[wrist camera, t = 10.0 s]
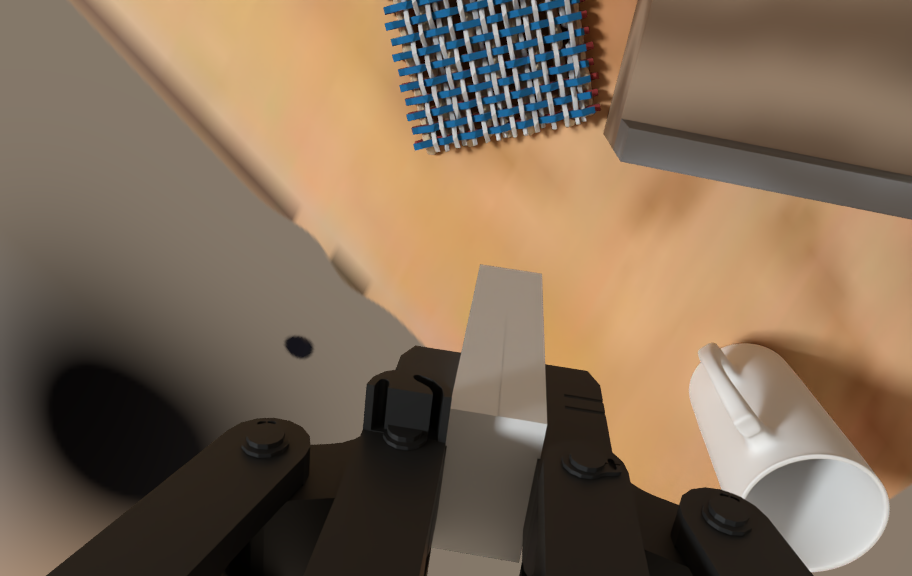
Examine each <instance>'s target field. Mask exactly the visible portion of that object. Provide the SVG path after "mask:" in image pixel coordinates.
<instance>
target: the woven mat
mask: <svg viewBox="0 0 912 576" xmlns="http://www.w3.org/2000/svg"><path fill="white" fill-rule="evenodd" d="M543 1H544V3H542V4H538V5H537V2H536V0H520V4H521V9H519V4H518V0H477V2H476V1H475V0H457V5H458V6H456V7H451V8H450V5H449V0H410V1H407V0H393V5H390V6H387V7H384V12H385V15H387V14H391V13H396V17H397V21H393V22H389V23H385V27H386V31H388V30H392V29H397V28H399V31H400V35H401V37H397V38H393V39H391V42H392V46H396V45H400V44H402V49H403V52H402V53H398V54H394V55H392V56H393V60H394V62H396V61H400V60H404V59H405V61H406V64H407V66H408V67H406V68H402V69H399V70H398V72H399V76H405V75H409V74H410V79H411V82H408V83H404V84H402V85H399V86H400V90H401V92H404V91H409V90H413V92H414V96H415V97H410V98H406V99H405V101H406V105H407V106H409V105H414V104H416V105H417V109H418V111H415V112H410V113H408V114H407V119H408V121H412V120H416V119H420V122H421V125H420V126H415V127H412V133H413V135H414V134H421V133H422V138H423V139H421V140H418V141H415V144H413V145H414V149H415V150H419V149H423V148H426V150H427V153H428V154H429V155H435V154H436V153H437V152H440V149H439V146H438V145H445V151H446V152H447V151H449V150H450V149H449V143H450V144H453V143H454V144H455V147H456V148H460V144H459V140H461V141H462V145H463V146H466V145H468V146H469V147H472V146H476V145H478V144H477V138H478V137H481V136H484V138H485V141H486V143H488V142H490V138H489V137H491V136H493V135H494V134H496V139H497V141H500V140H501V134H500V133H503V138H505V137H506V138H508V137H517V130H516V129H523V133H524V135H525V136H527V135H530V136H531V135H532V134H534V133H535V132H536V133H537V132H540V128H539V124H541V128H545V127H546V124H549V123H551V124H552V129H557V125H556V122H557V121H560V120H563V121H564V124H565V127H566V128H567V127H571V126H573V125H574V123H575V121H576V125H579V124H581V121H582V122H584V121H586V116H591V115H594V113H595V112H596V111H601V109H600V104H599V103H598V104H593V98H592V97H593V96H597V95H598V90H597V89H592V88H591V80H594V79H599V75H598V72H596V73H589V69H588V67H589V66H590V65H594V62H593V57H592V58H588V59H586V52H585V51H587V50H590V49H594V46H593V41H592V42H587V43H584V38H583V35H585V34H589V26H587V27H582V24H581V19H582V18H586V17H587V10H584V11H580V10H579V3H580V2H584V1H585V0H543ZM430 4H432V7H433V11H434V12H431V8H430ZM498 4H501V10H502V13H498V14H495V10H494V5H498ZM564 6H565V11H566V15H565V11H564ZM558 7H559V13H560V16H558V11H557V8H558ZM412 8H414V11H415V14H416V16H413V17H410V18H409V12H408V9H412ZM477 9H479V14H480V18H479V17H478V11H477ZM541 11H545V14H546V19H545V20H539V14H538V12H541ZM456 14H460V18H461V23H457V24H453V19H452V15H456ZM520 16H523V22H524V24H523V25H521V18H520ZM473 18H474V20H473ZM433 20H436V24H437V28H435V24H434V21H433ZM499 21H504V26H505V29H501V30H498V27H497V22H499ZM414 24H418V29H419V32H418V33H414V31H413V29H412V26H411V25H414ZM560 24H561V25H562V26H563V27H565V28H566V29H568V31H564V32H562V31H561V27H560ZM480 26H482V30H483V34H482V33H481V28H480ZM544 27H548V32H549V35H545V36H542V32H541V28H544ZM460 30H463V33H464V38H462V39H458V40H457V39H456V34H455V32H456V31H460ZM523 32H525V34H526V40H525V41H524V38H523ZM438 35H439V41H440V44H439V41H438ZM505 36H506V37H507V45H503V46H501V43H500V37H505ZM569 38H570V40H569V42H568V43H567V44H566V47H565V48H563V40H565V39H569ZM444 39H445V43H444ZM417 40H421V42H422V46H423V48H419V49H416V42H415V41H417ZM483 41H485V44H486V49H485V47H484V43H483ZM546 43H550V44H551V51H547V52H545V51H544V45H543V44H546ZM478 44H479V45H478ZM465 45H466V48H467V52H468V53H467V54H462V55H459V47H461V46H465ZM479 47H480V50H479ZM526 48H528V51H529V56H527V52H526ZM446 50H447V52H446ZM441 51H442V55H443V58H444V59H442V56H441ZM508 52H509V54H510V60H505V61H504V60H503V54H504V53H508ZM422 55H425V63H423V64H421V63H420V60H419V58H418V56H422ZM565 56H567V63H565ZM487 57H488V60H489V64H488V63H487ZM572 57H573V61H572ZM481 58H482V60H481ZM552 58H553V64H554V66H548V67H547V63H546V60H549V59H552ZM467 61H469V64H470V69H466V70H463V67H462V64H461V62H467ZM529 63H531V69H532V71H530V69H529ZM482 64H483V65H482ZM444 66H445V67H446V71H445V69H444ZM508 68H512V71H513V75H510V76H506V71H505V69H508ZM450 69H451V70H450ZM426 70H427V71H428V74H429V77H430V78H426V79H423V74H422V72H423V71H426ZM574 70H575V77H574ZM567 71H569V78H568V75H567ZM489 72H491V78H492V80H490V74H489ZM551 74H555V76H556V81H553V82H550V81H549V75H551ZM484 75H485V76H484ZM470 76H472V79H473V83H474V84H469V85H466V83H465V78H467V77H470ZM531 79H533V81H534V86H532V80H531ZM485 80H486V81H485ZM453 82H454V84H453ZM448 83H449V86H450V89H449V88H448ZM513 83H515V87H516V90H511V91H509V86H508V84H513ZM426 86H431V89H432V93H429V94H427V92H426V89H425V87H426ZM575 86H577V91H578V93H576V87H575ZM454 87H455V88H454ZM492 87H493V89H494V93H495V94H493V90H492ZM569 87H570V88H571V94H570V88H569ZM556 89H558V95H559V97H554V98H552V94H551V91H553V90H556ZM467 92H475V93H476V98H474V99H469V97H468V93H467ZM535 93H536V98H537V101H535V97H534V94H535ZM451 96H452V103H451V98H450V97H451ZM456 96H457V98H456ZM516 98H518V105H515V106H512V103H511V99H516ZM432 100H434V102H435V105H436V106H435V107H432V108H430V103H429V101H432ZM578 100H579V106H580V107H579V108H578ZM457 101H458V102H457ZM496 102H497V108H498V109H495V103H496ZM572 102H573V108H572ZM554 105H560V107H561V111H559V112H554ZM475 106H478V109H479V112H478V113H474V114H472V112H471V108H472V107H475ZM537 109H539V115H537ZM459 111H460V112H459ZM454 112H455V115H456V118H455V116H454ZM517 113H520V116H521V118H520V119H517V120H515V119H514V114H517ZM436 115H438V120H439V122H433V119H432V116H436ZM580 117H581V121H580ZM497 118H500V123H501V124H498V120H497ZM479 121H481V123H482V128H479V129H475V127H474V122H479ZM456 126H458V127H459V131H460V132H459V133H457V127H456ZM437 130H440V131H441V134H442V136H436V131H437Z"/></svg>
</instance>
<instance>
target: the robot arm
mask: <svg viewBox="0 0 912 576" xmlns="http://www.w3.org/2000/svg"><path fill="white" fill-rule="evenodd" d="M602 401H603V399H602V394H601V388H600V385H599V384H598V383H597V381H596V380H595V379H594V378H593V377H592V376H591V375H590V373H589V372H588V371H584V370H577V369H571V368H565V367H558V366H552V365H546V364H545V347H544V318H543V290H542V274H541V273H534V272H527V271H521V270H514V269H508V268H501V267H494V266H488V265H481V264H480V268H479V272H478V277H477V282H476V286H475V291H474V296H473V300H472V305H471V310H470V314H469V319H468V324H467V328H466V333H465V338H464V342H463V347H462V352H461V353H458V352H452V351H446V350H440V349H433V348H427V347H421V346H414V347H413V348H411V349H410V350H408V351H407V352H406V353H404V354H403V355H401V357H400V360H399V362H398V365H397V367H396V370H392V371H386V372H383V373H381V374H379V375H376V376H374V377H373V378H372V379H371V380H370V381H369V382H368V383H367V388H366V400H365V411H364V424H363V431H362V433H361V436H360V437H358V438H356V439H354V440H350V441H346V442H343V443H335V444H322V445H321V444H320V445H310V436H309V435H308V434H307V433H306V431H305V430H304V429H303V428H302V427H301V426H299V425H297V424H294V423H293V422H291V421H287V420H282V419H277V418H260V419H254V420H250V421H246V422H242V423H240V424H238V425H236V426H234V427H233V428H231V429H229V430H228V431H226V432H225V433H224V434H223V435H221V436H220V437H219V438H218V439H216V440H215V441H214V442H213V443H211V444H210V445H209V446H208V447H206V448H205V449H204V450H203V451H201V452H200V453H199V454H198V455H196V456H195V457H194V458H193V459H191V460H190V461H189V462H188V463H186V464H185V465H184V466H183V467H181V468H180V469H179V470H178V471H176V472H175V473H174V474H173V475H171V476H170V477H169V478H168V479H166V480H165V481H164V482H163V483H161V484H160V485H159V486H158V487H156V488H155V489H154V490H153V491H151V492H150V493H149V494H148V495H146V496H145V497H144V498H143V499H141V500H140V501H139V502H138V503H137V504H135V505H134V506H133V507H131V508H130V509H129V510H128V511H126V512H125V513H124V514H123V515H121V516H120V517H119V518H118V519H116V520H115V521H114V522H113V523H111V524H110V525H109V526H108V527H106V528H105V529H104V530H103V531H101V532H100V533H99V534H98V535H96V536H95V537H94V538H93V539H91V540H90V541H89V542H88V543H86V544H85V545H84V546H83V547H82V548H80V549H79V550H78V551H76V552H75V553H74V554H73V555H71V556H70V557H69V558H68V559H66V560H65V561H64V562H63V563H61V564H60V565H59V566H58V567H56V568H55V569H54V570H53V571H51V572H50V573H49V574H48V575H46V576H427V573H428V567H429V559H430V552H431V548H437V549H443V550H449V551H454V552H460V553H466V554H472V555H477V556H483V557H489V558H495V559H500V560H506V561H512V562H518V563H519V560H520V555H521V550H522V565H521V570H520V575H519V576H813V574H812V573H811V572H810V571H809V569H808V568H807V567H806V565H805V564H804V563H803V562H802V560H801V559H800V558H799V557H798V555H797V554H796V553H795V551H794V550H793V549H792V548H791V546H790V545H789V544H788V543H787V541H786V540H785V539H784V537H783V536H782V535H781V534H780V532H779V531H778V530H777V529H776V527H775V526H774V525H773V523H772V522H771V521H770V520H769V518H768V517H767V516H766V515H765V514H764V513H763V512H761V511H760V510H759V509H758V508H757V507H756V506H755V505H753V504H752V503H750V502H748V501H747V500H745V499H743V498H742V497H740V496H738V495H735V494H733V493H729V492H727V491H724V490H720V489H713V488H706V487H705V488H698V489H691V490H690V491H688V492H687V493H685V494H684V495H682V498H681V501H680V504H679V505H677V504H674V503H672V502H669V501H667V500H664V499H661V498H659V497H656V496H654V495H652V494H649V493H647V492H645V491H643V490H641V489H640V488H638V487H636V486H635V485H633V484H632V483H631V482H630V478H629V473H628V471H627V469H626V467H625V465H624V463H623V462H622V461H621V460H620V459H619V458H618V457H617V456H616V455H614V454H613V453H612V448H611V443H610V437H609V432H608V426H607V421H606V415H605V410H604V404H603V403H602ZM522 546H523V549H522Z"/></svg>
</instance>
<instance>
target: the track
mask: <svg viewBox="0 0 912 576" xmlns="http://www.w3.org/2000/svg"><path fill="white" fill-rule="evenodd" d="M604 135H605V137H606V138H607V140H608V142H609V143H610V145H611V147H612V148H613V150H614V152H615V153H616V155H617V157H618V158H619V160H620V161H621V162H626V163H631V164H636V165H641V166H646V167H651V168H656V169H661V170H666V171H671V172H676V173H681V174H686V175H691V176H696V177H701V178H706V179H711V180H716V181H721V182H726V183H731V184H736V185H741V186H746V187H751V188H756V189H761V190H766V191H771V192H776V193H781V194H786V195H791V196H796V197H802V198H807V199H812V200H817V201H822V202H827V203H832V204H837V205H842V206H847V207H852V208H857V209H862V210H867V211H872V212H877V213H882V214H887V215H892V216H897V217H902V218H907V219H912V0H638V2H637V6H636V9H635V13H634V17H633V21H632V25H631V29H630V32H629V36H628V40H627V44H626V48H625V52H624V56H623V59H622V63H621V67H620V71H619V75H618V79H617V83H616V86H615V90H614V94H613V98H612V102H611V106H610V110H609V113H608V117H607V121H606V125H605V129H604Z"/></svg>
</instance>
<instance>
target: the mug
mask: <svg viewBox="0 0 912 576" xmlns="http://www.w3.org/2000/svg"><path fill="white" fill-rule="evenodd" d="M698 356H699V359H700V361H701V362H700V364H699V365H698V366H697V368H696V369H695V371H694V373H693V375H692V377H691V380H690V385H689V397H690V401H691V404H692V407H693V410H694V413H695V416H696V419H697V422H698V425H699V428H700V431H701V434H702V436H703V439H704V442H705V444H706V447H707V450H708V453H709V455H710V458H711V461H712V464H713V467H714V469H715V472H716V475H717V478H718V480H719V483H720V486H721V489H722V490H724V491H727V492H729V493H733V494H735V495H738V496H740V497H742V498H743V499H745V500H747V501H748V502H750V503H752V504H753V505H755V506H756V507H757V508H758V509H759V510H760V511H761V512H763V513H764V514H765V515H766V516H767V517H768V518H769V520H770V521H771V522H772V523H773V525H774V526H775V527H776V529H777V530H778V531H779V532H780V534H781V535H782V536H783V537H784V539H785V540H786V541H787V543H788V544H789V545H790V546H791V548H792V549H793V550H794V551H795V553H796V554H797V555H798V557H799V558H800V559H801V560H802V562H803V563H804V564H805V565H806V567H807V568H808V569H809V571H810V572H819V571H826V570H830V569H834V568H838V567H841V566H844V565H846V564H848V563H850V562H852V561H854V560H856V559H858V558H859V557H861V556H862V555H863V554H865V553H866V552H867V551H868V550H869V549H871V547H872V546H873V545H874V544H875V543H876V542H877V541H878V540H879V538H880V537H881V535H882V533H883V532H884V530H885V528H886V525H887V522H888V519H889V512H890V504H889V498H888V494H887V492H886V489H885V487H884V485H883V484H882V482H881V481H880V479H879V478H878V477H877V476H876V475H875V473H874V472H873V470H872V469H871V467H870V466H869V465H868V463H867V462H866V461H865V460H864V458H863V457H862V456H861V454H860V453H859V452H858V451H857V449H856V448H855V447H854V446H853V444H852V443H851V442H850V441H849V439H848V438H847V437H846V436H845V434H844V433H843V432H842V431H841V429H840V428H839V427H838V426H837V424H836V423H835V422H834V421H833V419H832V418H831V417H830V416H829V414H828V413H827V412H826V411H825V409H824V408H823V407H822V406H821V404H820V403H819V402H818V401H817V399H816V398H815V397H814V396H813V394H812V393H811V392H810V390H809V389H808V388H807V387H806V385H805V384H804V383H803V381H802V380H801V379H800V378H799V377H798V375H797V374H796V373H795V372H794V371H793V369H792V368H791V367H790V366H789V365H788V364H787V362H786V361H785V360H784V359H783V358H782V357H781V356H780V355H779V354H777V353H776V352H774V351H773V350H771V349H769V348H767V347H764V346H761V345H757V344H750V343H740V344H733V345H729V346H725V347H723V348H719V346H718V345H717V344H715V343H709V344H707V345H705V346H704V347H702V348H701V349H699V351H698Z"/></svg>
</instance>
